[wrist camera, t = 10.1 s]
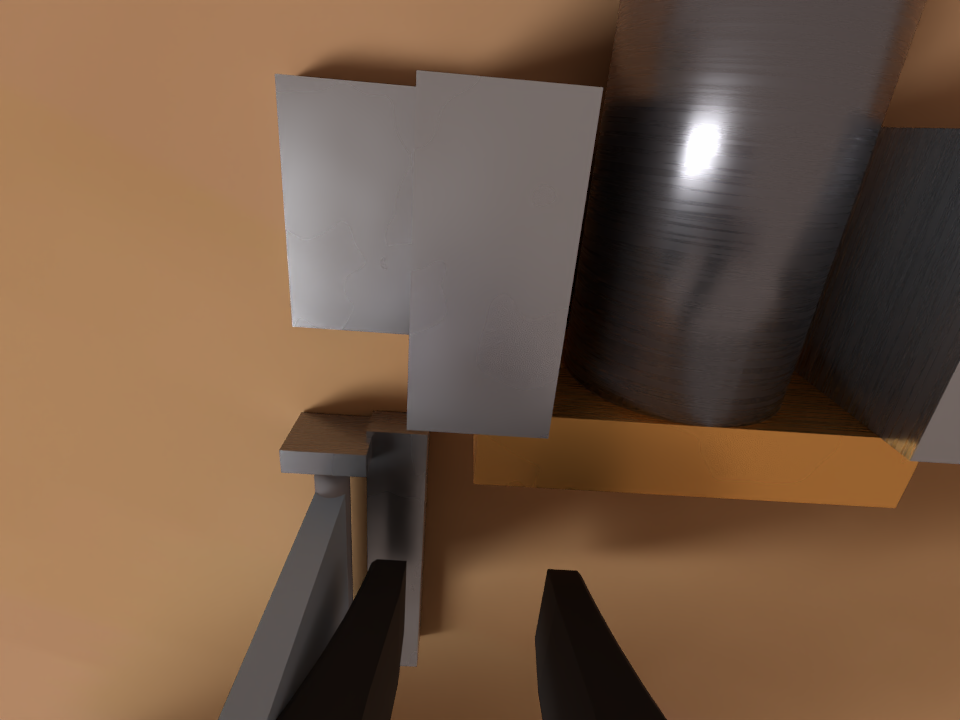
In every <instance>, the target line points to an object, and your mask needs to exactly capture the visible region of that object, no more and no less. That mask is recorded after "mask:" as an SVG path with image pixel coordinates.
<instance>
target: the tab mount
mask: <svg viewBox="0 0 960 720" xmlns="http://www.w3.org/2000/svg"><path fill="white" fill-rule="evenodd" d="M429 436H430V431H416V430H407V413H400V412H384V411H373V413H372V416H371V417H365V416H349V415H333V414H318V413H302V412H301V414H300V416H299V418H298V419H297V421H296V423H295V424H294V426H293V428H292V429H291V431H290V433H289V435H288V436H287V438H286V440H285V441H284V443H283V445H282V447H281V448H280V450H279V453H280V464H281V472H282V473H300V474H317V475H334V476H352V477H366V476H367V557H368V570H369V567H370V565H371V563H372V562H373V561H375V560H376V559H384V560H401V561H407V567H406V595H405V624H404V637H403V645H402V654H401V662H400V666H415V667H417V660H418V650H419V640H420V622H421V601H422V581H423V560H424V539H425V518H426V498H427V477H428V456H429Z"/></svg>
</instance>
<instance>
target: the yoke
mask: <svg viewBox="0 0 960 720" xmlns="http://www.w3.org/2000/svg"><path fill="white" fill-rule="evenodd" d="M275 84H276V98H277V113H278V127H279V141H280V156H281V170H282V185H283V199H284V213H285V228H286V242H287V257H288V271H289V285H290V300H291V314H292V326H293V327H307V328H322V329H336V330H350V331H365V332H379V333H393V334H408V335H409V361H408V398H407V430H416V431H432V432H448V433H464V434H480V435H497V436H513V437H529V438H545V439H548V437H549V431H550V424H551V418H552V412H553V405H554V399H555V392H556V386H557V380H558V373H559V367H560V361H561V354H562V348H563V341H564V335H565V329H566V322H567V316H568V310H569V303H570V297H571V290H572V284H573V278H574V271H575V265H576V258H577V252H578V246H579V239H580V233H581V227H582V220H583V214H584V207H585V201H586V195H587V188H588V182H589V175H590V169H591V163H592V156H593V150H594V144H595V137H596V131H597V124H598V118H599V112H600V105H601V99H602V93H603V87H594V86H583V85H572V84H561V83H550V82H540V81H529V80H518V79H507V78H496V77H485V76H474V75H463V74H453V73H442V72H431V71H420V70H416V87H414V86H403V85H392V84H381V83H370V82H359V81H348V80H337V79H326V78H315V77H304V76H293V75H282V74H275ZM794 371H795V372H796V373H798V374H799V375H800V376H802V377H803V378H804V379H805V380H807V381H808V382H809V383H811V384H812V385H813V386H814V387H816V388H817V389H818V390H820V391H821V392H822V393H823V394H825V395H826V396H827V397H829V398H830V399H831V400H832V401H834V402H835V403H836V404H837V405H839V406H840V407H841V408H843V409H844V410H845V411H846V412H848V413H849V414H850V415H852V416H853V417H854V418H855V419H857V420H858V421H859V422H861V423H862V424H863V425H864V426H866V427H867V428H868V429H870V430H871V431H872V432H873V433H875V434H876V435H877V436H879V437H880V438H881V439H882V440H884V441H885V442H886V443H888V444H889V445H890V446H891V447H893V448H894V449H895V450H897V451H898V452H899V453H900V454H902V455H903V456H904V457H906V458H907V459H908V460H909V461H918V462H934V463H950V464H960V129H950V128H892V127H881V128H880V131H879V134H878V137H877V140H876V142H875V145H874V148H873V151H872V154H871V156H870V159H869V162H868V165H867V167H866V170H865V173H864V176H863V179H862V181H861V184H860V187H859V190H858V193H857V195H856V198H855V201H854V204H853V207H852V209H851V212H850V215H849V218H848V221H847V223H846V226H845V229H844V232H843V234H842V237H841V240H840V243H839V246H838V248H837V251H836V254H835V257H834V260H833V262H832V265H831V268H830V271H829V274H828V276H827V279H826V282H825V285H824V288H823V290H822V293H821V296H820V299H819V302H818V304H817V307H816V310H815V313H814V315H813V318H812V321H811V324H810V327H809V329H808V332H807V335H806V338H805V341H804V343H803V346H802V349H801V352H800V355H799V357H798V360H797V363H796V366H795V369H794Z"/></svg>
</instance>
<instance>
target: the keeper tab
mask: <svg viewBox="0 0 960 720" xmlns="http://www.w3.org/2000/svg"><path fill="white" fill-rule="evenodd" d="M314 480H315V495H314V497H313V499H312V502H311V504H310V506H309V509H308V511H307V513H306V516H305V518H304V520H303V523H302V525H301V527H300V530H299V532H298V534H297V537H296V539H295V541H294V544H293V546H292V548H291V551H290V553H289V555H288V558H287V560H286V562H285V565H284V567H283V569H282V572H281V574H280V576H279V579H278V581H277V583H276V586H275V588H274V590H273V593H272V595H271V597H270V600H269V602H268V604H267V607H266V609H265V611H264V614H263V616H262V618H261V621H260V623H259V625H258V628H257V630H256V632H255V635H254V637H253V639H252V642H251V644H250V646H249V649H248V651H247V653H246V656H245V658H244V660H243V663H242V665H241V667H240V670H239V672H238V674H237V677H236V679H235V681H234V684H233V686H232V688H231V691H230V693H229V695H228V698H227V700H226V702H225V705H224V707H223V709H222V712H221V714H220V716H219V719H218V720H276V719H277V717H278V716H279V715H280V713H281V712H282V710H283V709H284V708H285V706H286V705H287V704H288V702H289V701H290V700H291V698H292V697H293V695H294V694H295V692H296V691H297V689H298V688H299V687H300V685H301V684H302V682H303V681H304V679H305V678H306V676H307V675H308V673H309V672H310V670H311V669H312V668H313V666H314V665H315V663H316V662H317V660H318V659H319V657H320V656H321V654H322V653H323V651H324V649H325V648H326V646H327V644H328V643H329V641H330V640H331V638H332V636H333V635H334V633H335V631H336V630H337V628H338V626H339V625H340V623H341V622H342V620H343V618H344V616H345V615H346V613H347V611H348V609H349V608H350V606H351V604H352V602H353V578H352V538H351V497H350V476H334V475H317V474H315V475H314Z"/></svg>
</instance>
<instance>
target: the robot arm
mask: <svg viewBox="0 0 960 720" xmlns="http://www.w3.org/2000/svg"><path fill="white" fill-rule="evenodd" d="M406 567H407V561H401V560H384V559H376V560H375V561H373V562H372V563H371V565H370V567H369V570H368V572H367V574H366V577H365V579H364V581H363V583H362V585H361V587H360V589H359V591H358V593H357V595H356V597H355V598H354V600H353V602H352V604H351V606H350V608H349V609H348V611H347V613H346V615H345V616H344V618H343V620H342V622H341V623H340V625H339V626H338V628H337V630H336V631H335V633H334V635H333V636H332V638H331V640H330V641H329V643H328V644H327V646H326V648H325V649H324V651H323V653H322V654H321V656H320V657H319V659H318V660H317V662H316V663H315V665H314V666H313V668H312V669H311V670H310V672H309V673H308V675H307V676H306V678H305V679H304V681H303V682H302V684H301V685H300V687H299V688H298V689H297V691H296V692H295V694H294V695H293V697H292V698H291V700H290V701H289V702H288V704H287V705H286V706H285V708H284V709H283V710H282V712H281V713H280V715H279V716H278V717H277V719H276V720H390V718H391V714H392V709H393V704H394V700H395V695H396V690H397V685H398V678H399V670H400V662H401V654H402V645H403V637H404V624H405V595H406ZM535 647H536V665H537V680H538V693H539V700H540V706H541V713H542V719H543V720H667V719H666V718H665V716H664V715H663V713H662V712H661V710H660V709H659V707H658V706H657V705H656V703H655V702H654V700H653V699H652V697H651V696H650V694H649V693H648V691H647V690H646V688H645V687H644V685H643V683H642V682H641V680H640V679H639V677H638V676H637V674H636V672H635V671H634V669H633V667H632V666H631V664H630V663H629V661H628V659H627V658H626V656H625V654H624V653H623V651H622V650H621V648H620V646H619V645H618V643H617V641H616V640H615V638H614V636H613V634H612V633H611V631H610V629H609V627H608V626H607V624H606V622H605V620H604V618H603V617H602V615H601V613H600V611H599V609H598V607H597V606H596V604H595V602H594V600H593V598H592V596H591V594H590V592H589V590H588V588H587V586H586V584H585V582H584V580H583V578H582V576H581V575H580V574H579V573H578V571H571V570H554V569H548V570H547V575H546V581H545V586H544V592H543V597H542V603H541V608H540V614H539V619H538V624H537V630H536V635H535Z"/></svg>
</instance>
